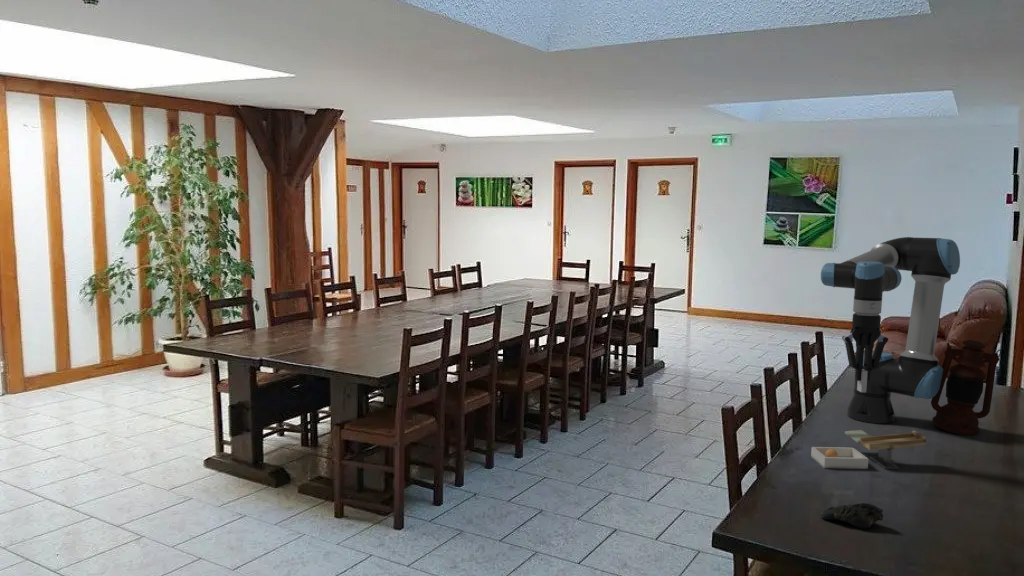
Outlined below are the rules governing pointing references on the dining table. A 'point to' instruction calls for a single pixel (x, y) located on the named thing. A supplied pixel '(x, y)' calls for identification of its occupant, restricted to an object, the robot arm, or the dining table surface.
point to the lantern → (965, 388)
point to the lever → (887, 440)
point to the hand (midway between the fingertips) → (861, 391)
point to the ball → (831, 453)
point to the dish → (840, 458)
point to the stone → (854, 514)
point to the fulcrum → (884, 459)
